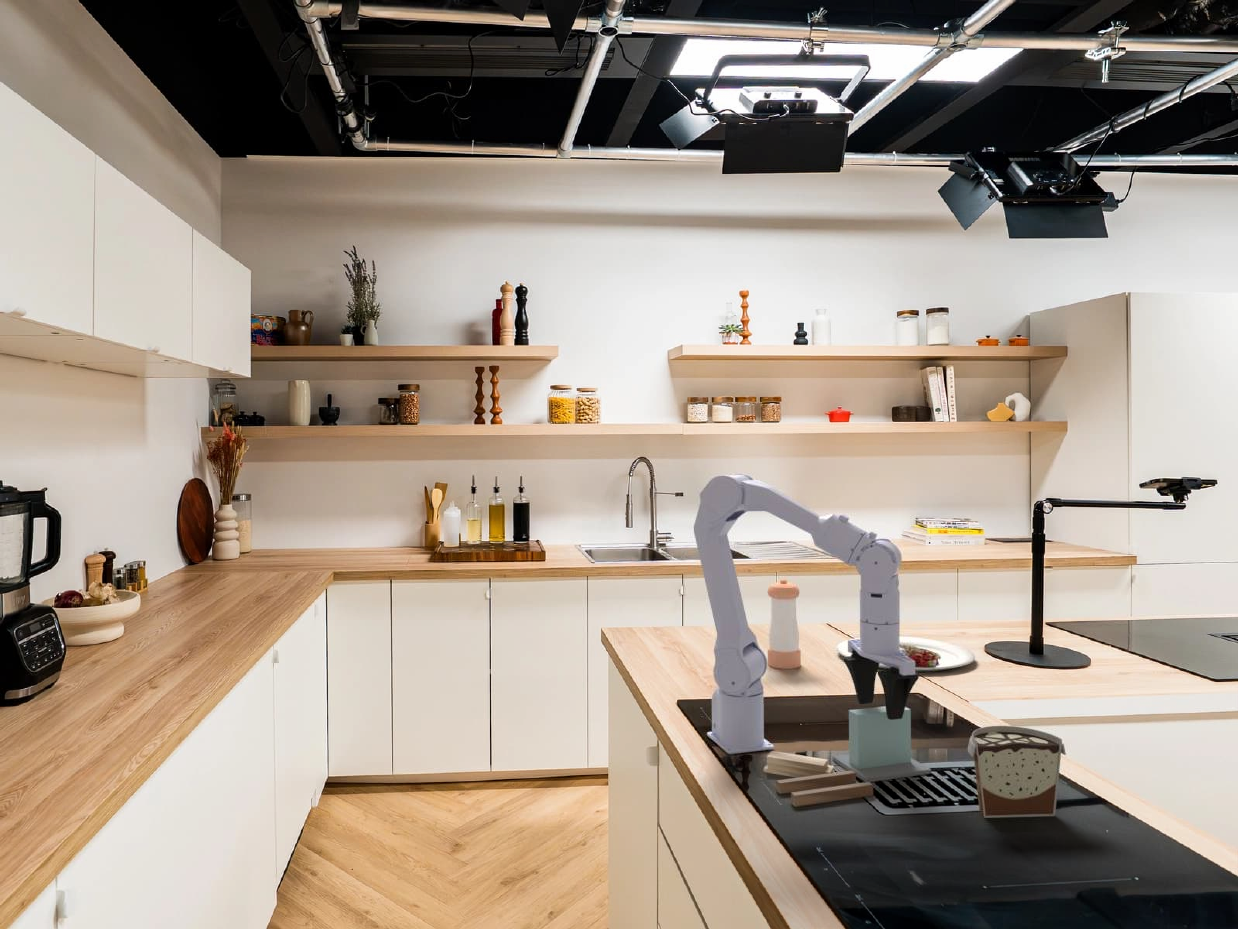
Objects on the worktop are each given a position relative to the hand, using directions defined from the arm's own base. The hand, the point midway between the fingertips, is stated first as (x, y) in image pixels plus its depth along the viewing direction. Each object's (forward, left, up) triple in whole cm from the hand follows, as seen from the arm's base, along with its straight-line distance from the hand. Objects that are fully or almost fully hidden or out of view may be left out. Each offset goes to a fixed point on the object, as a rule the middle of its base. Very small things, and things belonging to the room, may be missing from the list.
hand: (879, 710), depth 122 cm
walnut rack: (+6, -13, -9) cm, 17 cm away
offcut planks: (-1, -13, -9) cm, 16 cm away
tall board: (0, 0, -8) cm, 8 cm away
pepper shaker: (-58, +14, -9) cm, 60 cm away
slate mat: (0, 0, -9) cm, 9 cm away
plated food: (-55, +43, -9) cm, 70 cm away
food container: (+17, +8, -9) cm, 21 cm away
